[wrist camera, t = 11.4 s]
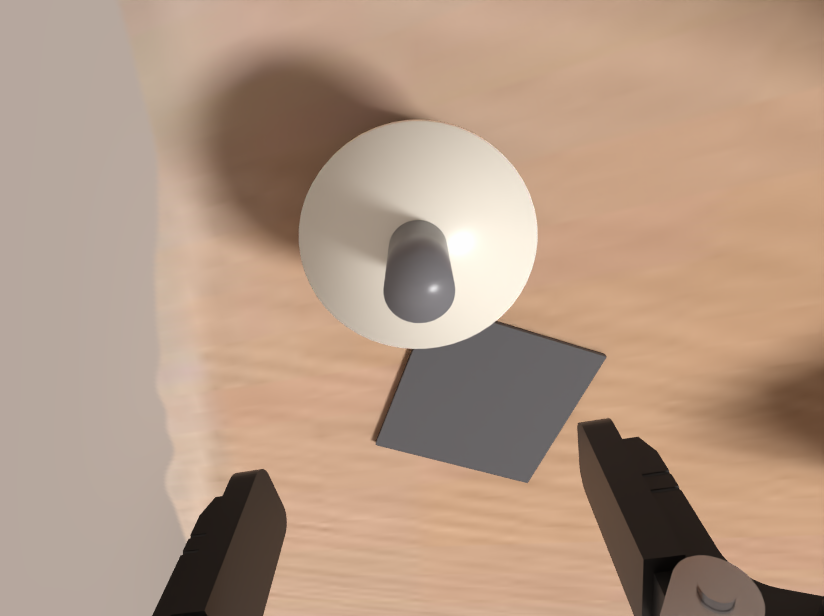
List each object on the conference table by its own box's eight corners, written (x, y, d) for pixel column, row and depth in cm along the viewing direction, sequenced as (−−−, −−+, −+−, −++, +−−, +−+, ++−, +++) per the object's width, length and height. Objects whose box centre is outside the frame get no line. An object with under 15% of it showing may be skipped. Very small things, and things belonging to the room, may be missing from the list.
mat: (604, 354, 39) (606, 356, 38) (526, 479, 45) (527, 482, 45) (431, 301, 36) (431, 304, 36) (375, 441, 43) (375, 444, 43)
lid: (574, 166, 25) (622, 198, 19) (481, 362, 31) (497, 432, 25) (332, 82, 23) (306, 89, 17) (282, 307, 29) (249, 369, 23)
